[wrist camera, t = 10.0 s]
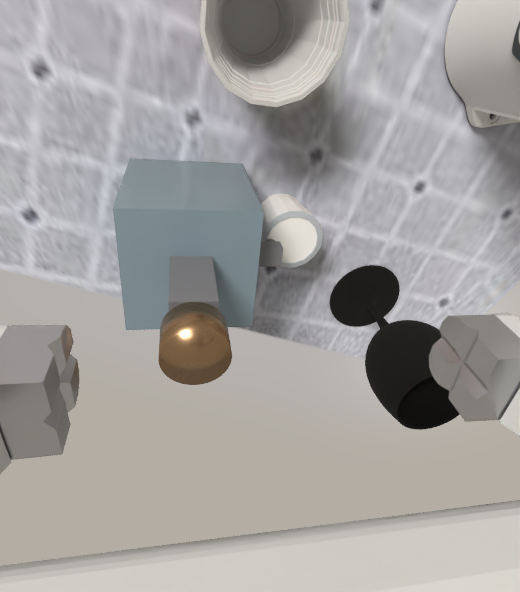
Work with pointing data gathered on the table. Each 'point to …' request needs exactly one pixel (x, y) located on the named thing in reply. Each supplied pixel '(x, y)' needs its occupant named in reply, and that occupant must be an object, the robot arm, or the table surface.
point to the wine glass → (394, 349)
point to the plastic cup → (273, 45)
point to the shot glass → (291, 229)
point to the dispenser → (189, 240)
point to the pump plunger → (194, 344)
